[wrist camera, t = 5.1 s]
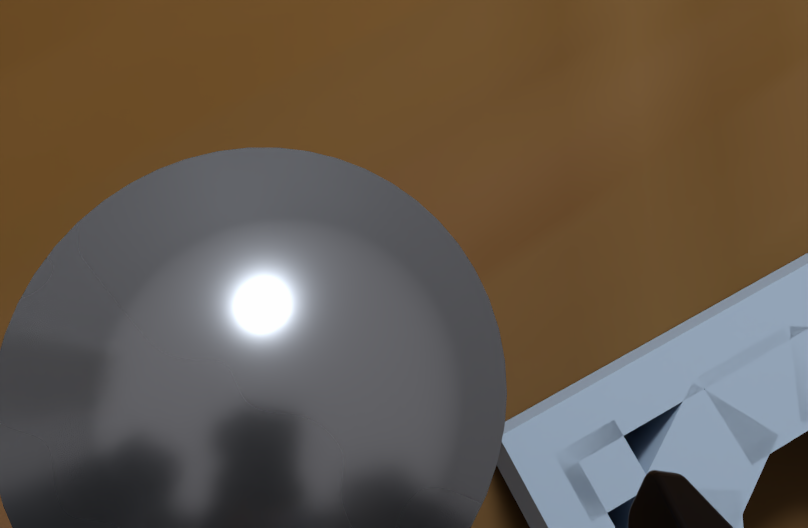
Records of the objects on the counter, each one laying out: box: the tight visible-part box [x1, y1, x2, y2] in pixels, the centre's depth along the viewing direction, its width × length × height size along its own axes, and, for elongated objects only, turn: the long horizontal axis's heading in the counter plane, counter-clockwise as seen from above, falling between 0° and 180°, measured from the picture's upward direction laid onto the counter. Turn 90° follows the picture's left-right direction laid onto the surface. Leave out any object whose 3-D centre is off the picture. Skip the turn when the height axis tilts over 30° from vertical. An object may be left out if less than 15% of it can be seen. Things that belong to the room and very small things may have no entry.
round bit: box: [0, 148, 507, 528], centre depth 11 cm, size 4×4×12 cm
